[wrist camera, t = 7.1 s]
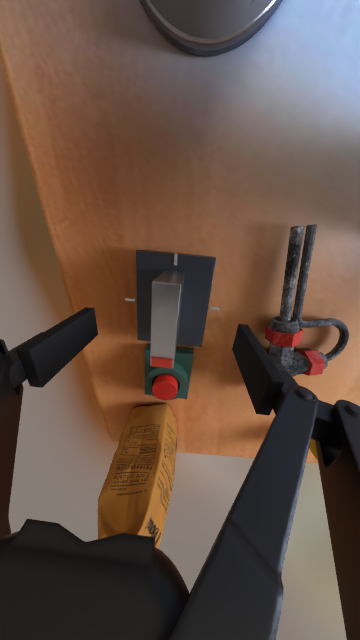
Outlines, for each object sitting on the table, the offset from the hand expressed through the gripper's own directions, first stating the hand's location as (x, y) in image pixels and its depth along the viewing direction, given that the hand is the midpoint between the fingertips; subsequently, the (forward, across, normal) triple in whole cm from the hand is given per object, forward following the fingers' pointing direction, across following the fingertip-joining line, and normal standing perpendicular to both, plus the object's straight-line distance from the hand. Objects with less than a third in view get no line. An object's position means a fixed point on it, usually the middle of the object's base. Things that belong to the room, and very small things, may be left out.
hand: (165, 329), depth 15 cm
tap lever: (+8, 0, 0) cm, 8 cm away
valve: (+11, +19, -2) cm, 22 cm away
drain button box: (+11, 0, -14) cm, 18 cm away
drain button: (+7, 0, -14) cm, 16 cm away
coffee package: (+11, -2, -29) cm, 31 cm away
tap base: (+11, 0, 0) cm, 11 cm away
